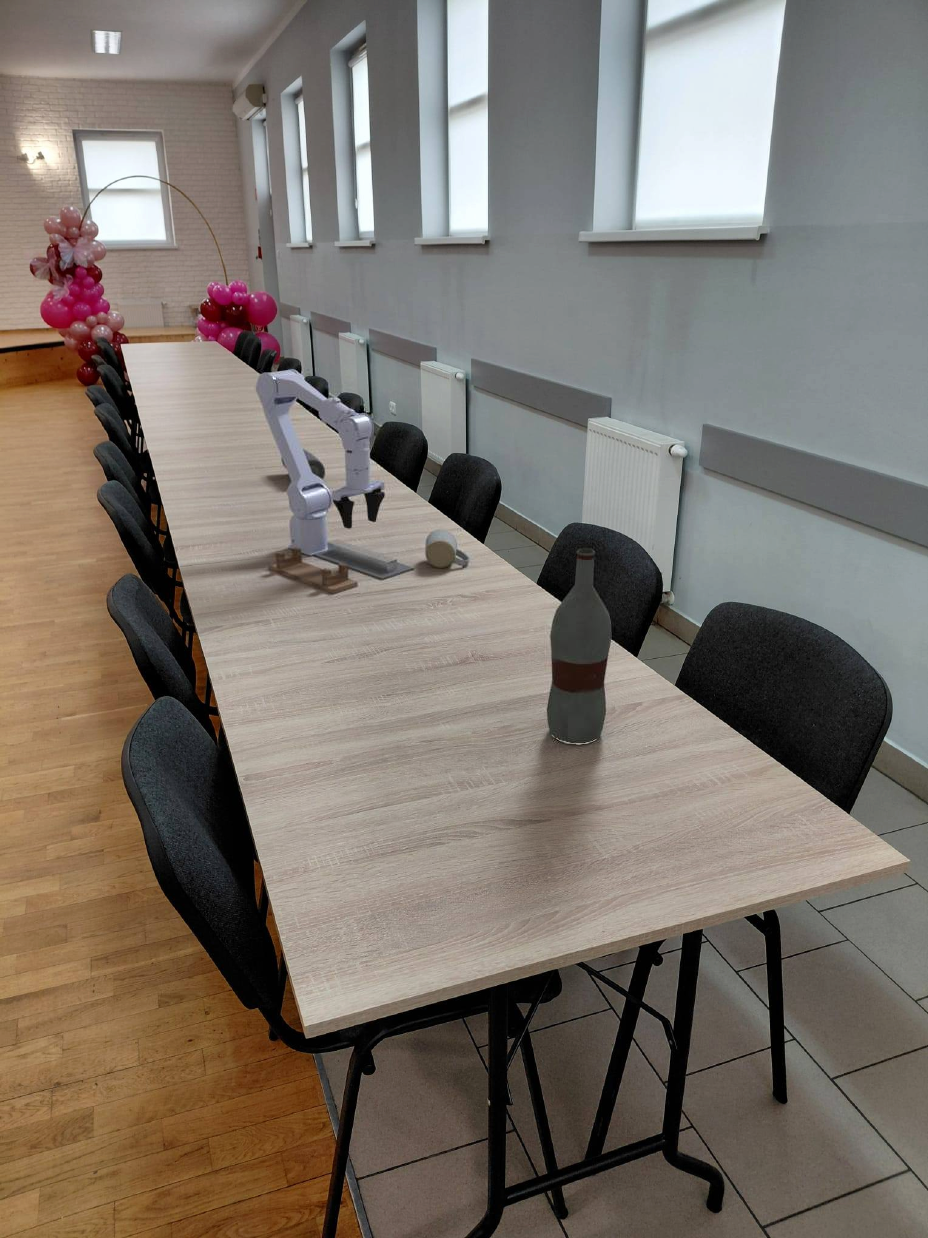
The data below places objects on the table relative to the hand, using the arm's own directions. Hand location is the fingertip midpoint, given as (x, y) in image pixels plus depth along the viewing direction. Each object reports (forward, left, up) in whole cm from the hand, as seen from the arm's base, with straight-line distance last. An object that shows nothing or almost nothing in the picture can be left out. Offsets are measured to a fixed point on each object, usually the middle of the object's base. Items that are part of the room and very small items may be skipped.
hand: (360, 524), depth 214 cm
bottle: (+87, -31, -10) cm, 93 cm away
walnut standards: (0, -15, -9) cm, 18 cm away
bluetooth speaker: (-75, +40, -10) cm, 85 cm away
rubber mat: (-1, 0, -9) cm, 9 cm away
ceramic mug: (+16, +13, -10) cm, 23 cm away
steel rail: (0, 0, -9) cm, 9 cm away
